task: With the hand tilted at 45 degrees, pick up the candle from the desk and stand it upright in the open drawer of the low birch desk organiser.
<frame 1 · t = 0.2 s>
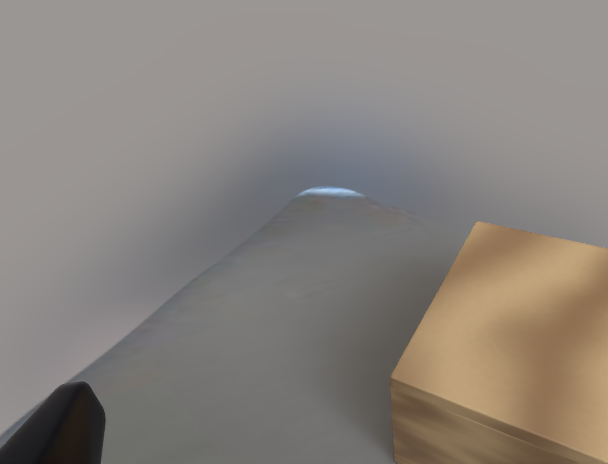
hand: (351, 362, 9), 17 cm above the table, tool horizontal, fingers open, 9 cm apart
organiser: (560, 418, 25), on the table
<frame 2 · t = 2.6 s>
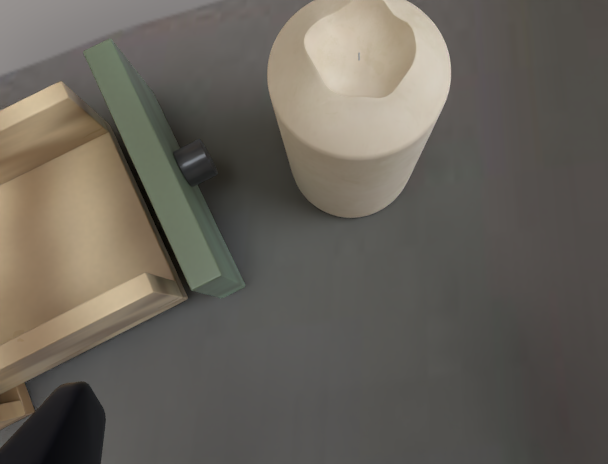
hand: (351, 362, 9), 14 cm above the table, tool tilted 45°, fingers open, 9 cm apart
candle: (350, 162, 24), on the table
drawer: (69, 226, 21), point 3 cm above the table, slide at 9.6 cm
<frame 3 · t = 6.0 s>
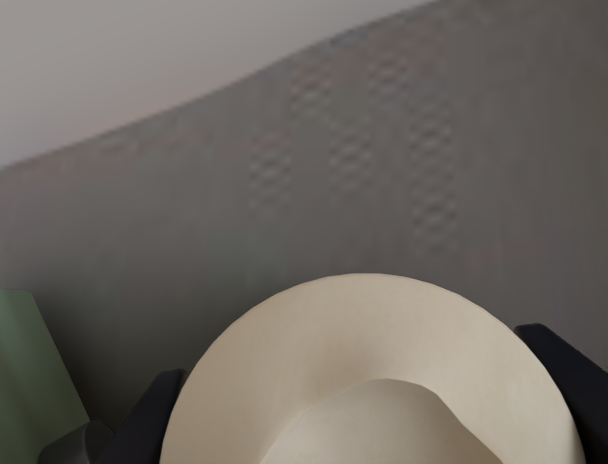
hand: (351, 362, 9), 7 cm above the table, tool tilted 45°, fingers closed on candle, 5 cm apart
candle: (349, 387, 15), on the table, touching gripper
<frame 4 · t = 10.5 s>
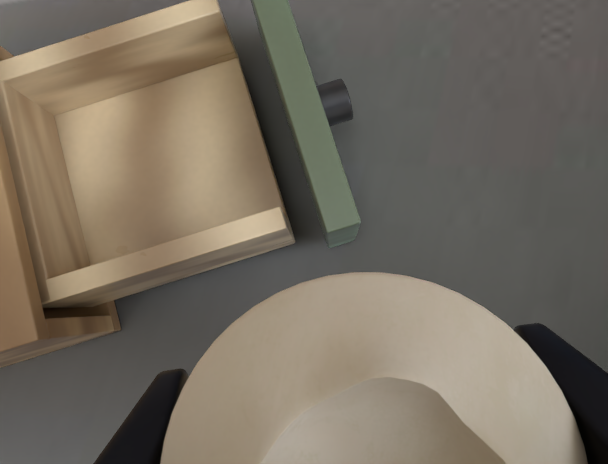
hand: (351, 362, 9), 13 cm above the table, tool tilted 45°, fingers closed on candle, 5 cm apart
candle: (349, 386, 15), point 7 cm above the table, touching gripper
drawer: (192, 147, 20), point 3 cm above the table, slide at 9.6 cm
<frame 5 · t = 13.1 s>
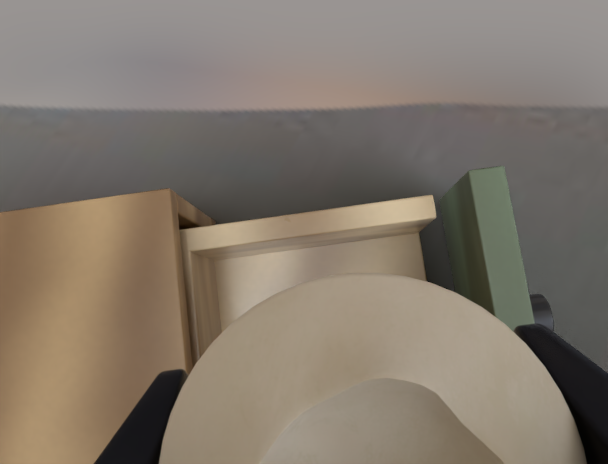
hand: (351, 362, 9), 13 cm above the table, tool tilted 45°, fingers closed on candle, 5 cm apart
candle: (349, 386, 15), point 6 cm above the table, touching gripper
drawer: (367, 338, 18), point 3 cm above the table, slide at 9.6 cm
organiser: (87, 369, 22), on the table
when the fingers open (8 cm above the table, at t = 14.9 s): candle stays where it is, resting on drawer.
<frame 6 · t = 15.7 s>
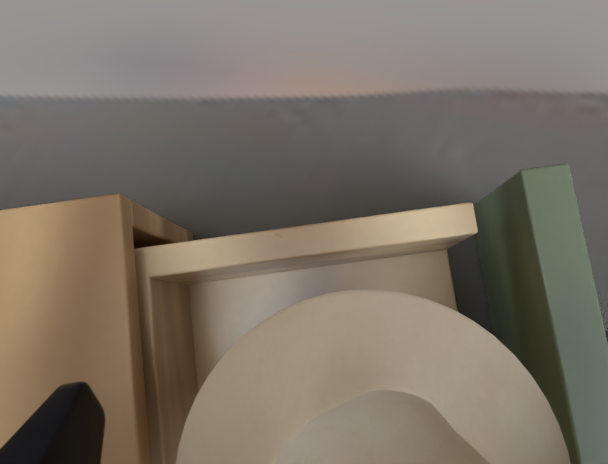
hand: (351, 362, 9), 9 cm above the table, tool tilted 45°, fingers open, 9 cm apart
candle: (350, 391, 16), point 2 cm above the table, touching drawer
drawer: (383, 389, 14), point 3 cm above the table, slide at 9.6 cm, touching candle
organiser: (33, 417, 18), on the table
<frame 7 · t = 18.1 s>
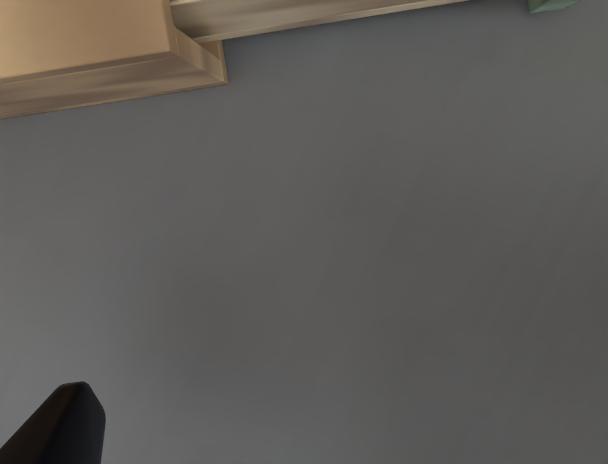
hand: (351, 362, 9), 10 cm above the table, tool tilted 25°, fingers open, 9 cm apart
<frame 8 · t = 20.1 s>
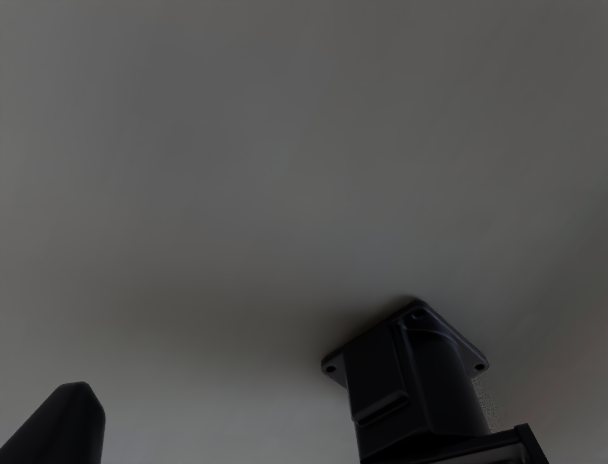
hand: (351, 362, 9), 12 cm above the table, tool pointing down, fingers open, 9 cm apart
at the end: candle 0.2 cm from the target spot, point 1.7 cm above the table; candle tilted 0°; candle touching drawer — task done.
